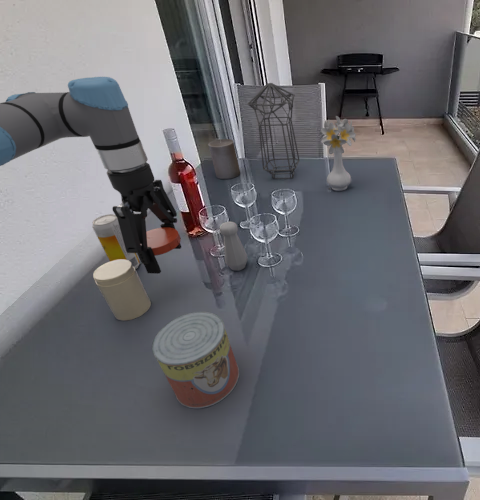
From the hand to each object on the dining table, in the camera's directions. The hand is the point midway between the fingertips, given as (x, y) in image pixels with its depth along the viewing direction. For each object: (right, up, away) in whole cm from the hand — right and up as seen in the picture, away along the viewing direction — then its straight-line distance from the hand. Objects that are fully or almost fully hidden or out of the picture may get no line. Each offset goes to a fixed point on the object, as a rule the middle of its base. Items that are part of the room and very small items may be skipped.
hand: (165, 259), depth 81 cm
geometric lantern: (+15, +33, +64) cm, 74 cm away
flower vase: (+39, +25, +52) cm, 70 cm away
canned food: (+16, -22, -16) cm, 32 cm away
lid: (0, +5, -3) cm, 6 cm away
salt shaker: (+13, -2, +13) cm, 18 cm away
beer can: (-17, -3, +13) cm, 22 cm away
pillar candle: (-8, +34, +66) cm, 74 cm away
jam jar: (-8, -11, 0) cm, 14 cm away
